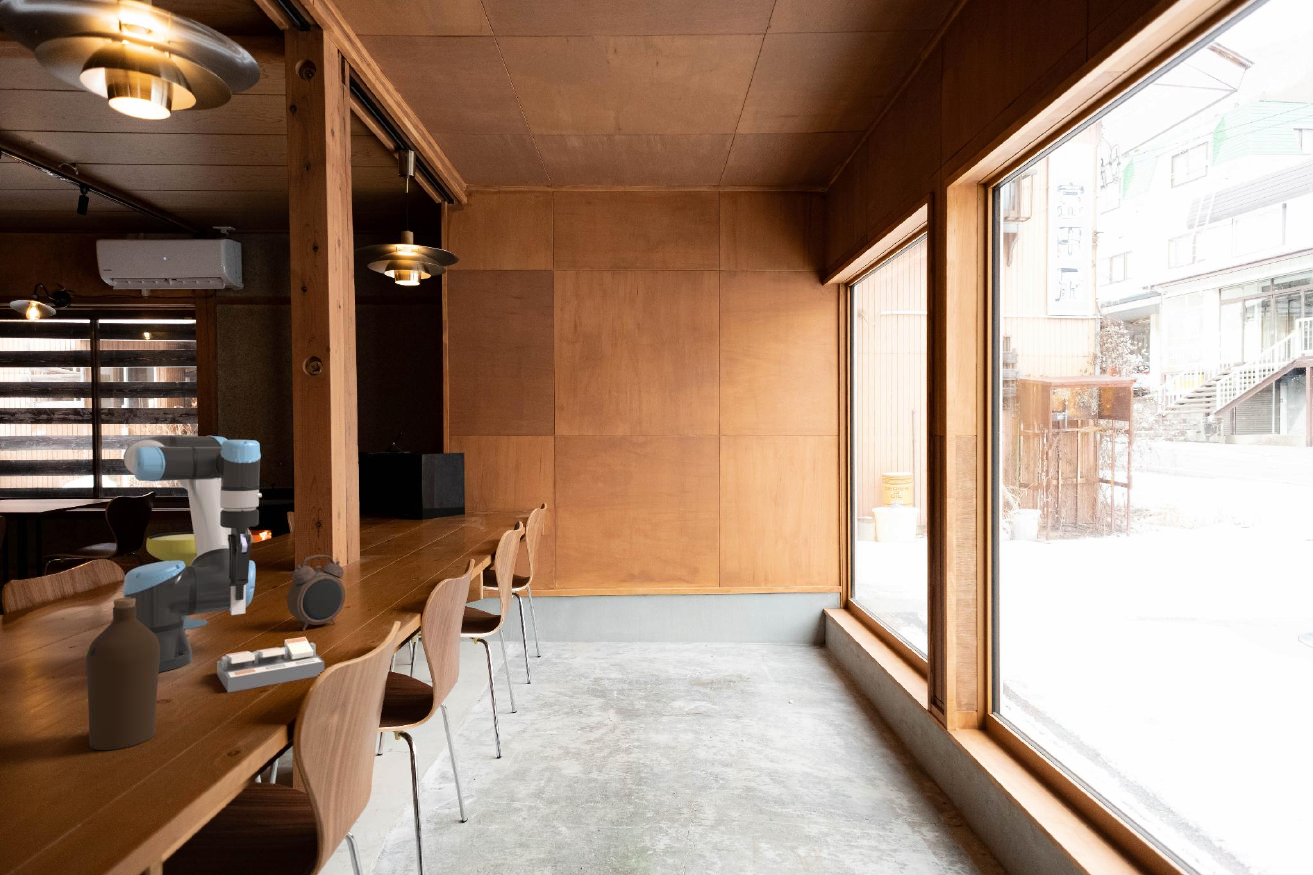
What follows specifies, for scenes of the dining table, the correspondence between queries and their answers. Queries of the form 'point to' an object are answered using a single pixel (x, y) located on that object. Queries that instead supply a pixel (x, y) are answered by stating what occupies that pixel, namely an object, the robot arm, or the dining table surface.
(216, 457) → the robot arm
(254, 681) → the switch unit
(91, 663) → the olive oil
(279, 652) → the middle switch
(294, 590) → the alarm clock
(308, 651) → the right switch
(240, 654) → the left switch
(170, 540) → the cocktail glass
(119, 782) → the dining table surface
